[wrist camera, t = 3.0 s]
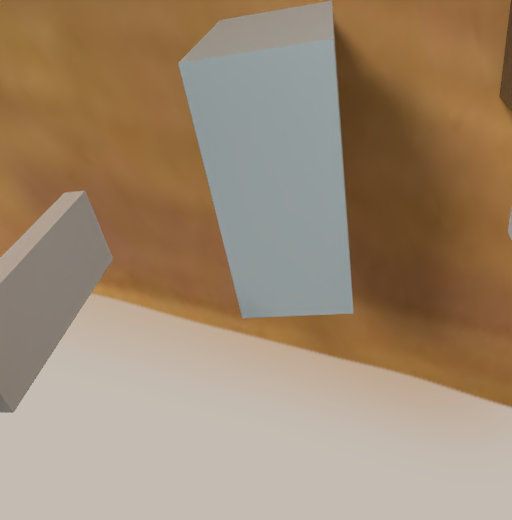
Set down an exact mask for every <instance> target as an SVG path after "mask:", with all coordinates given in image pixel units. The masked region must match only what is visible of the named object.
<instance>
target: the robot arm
mask: <svg viewBox="0 0 512 520" xmlns="http://www.w3.org/2000/svg"><path fill="white" fill-rule="evenodd" d="M508 234H509V236H510V238H511V240H512V207H511V214H510V221H509V227H508ZM112 260H113V257H112V255H111V252H110V250H109V247H108V245H107V242H106V240H105V238H104V235H103V233H102V230H101V228H100V225H99V223H98V221H97V218H96V216H95V213H94V211H93V208H92V206H91V204H90V201H89V199H88V196H87V194H86V191H75V192H65V193H63V194H62V196H61V197H60V198H59V199H58V200H57V201H56V202H55V203H54V204H53V205H52V206H51V207H50V208H49V209H48V210H47V211H46V212H45V213H44V214H43V215H42V216H41V217H40V218H39V219H38V220H37V221H36V222H35V223H34V224H33V225H32V226H31V227H30V228H29V229H28V230H27V231H26V232H25V233H24V234H23V235H22V236H21V237H20V238H19V239H18V240H17V241H16V242H15V243H14V244H13V245H12V246H11V247H10V248H9V250H8V251H7V252H6V253H5V254H4V255H3V256H2V257H1V258H0V412H14V411H15V409H16V408H17V406H18V405H19V403H20V401H21V400H22V398H23V397H24V395H25V394H26V392H27V391H28V389H29V388H30V386H31V385H32V383H33V382H34V380H35V378H36V377H37V375H38V374H39V372H40V371H41V369H42V368H43V366H44V364H45V363H46V361H47V360H48V358H49V357H50V355H51V354H52V352H53V351H54V349H55V348H56V346H57V345H58V343H59V341H60V340H61V338H62V337H63V335H64V334H65V332H66V331H67V329H68V327H69V326H70V325H71V323H72V321H73V320H74V318H75V317H76V315H77V314H78V312H79V311H80V309H81V307H82V306H83V305H84V303H85V301H86V300H87V298H88V297H89V295H90V294H91V292H92V291H93V289H94V288H95V286H96V285H97V283H98V281H99V280H100V278H101V277H102V275H103V274H104V272H105V271H106V269H107V268H108V266H109V265H110V263H111V261H112Z"/></svg>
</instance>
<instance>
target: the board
mask: <svg viewBox="0 0 512 520" xmlns="http://www.w3.org/2000/svg"><path fill="white" fill-rule="evenodd" d="M500 98H501V99H502V100H503V101H504V102H505V103H506V104H507V105H508V107H509V108H510V109H511V110H512V0H511V6H510V15H509V23H508V31H507V40H506V48H505V56H504V65H503V73H502V81H501V90H500Z"/></svg>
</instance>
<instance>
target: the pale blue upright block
mask: <svg viewBox="0 0 512 520" xmlns="http://www.w3.org/2000/svg"><path fill="white" fill-rule="evenodd" d="M178 65H179V69H180V73H181V77H182V81H183V84H184V88H185V92H186V96H187V100H188V104H189V108H190V112H191V116H192V120H193V124H194V128H195V132H196V136H197V140H198V144H199V148H200V152H201V156H202V160H203V164H204V168H205V172H206V176H207V180H208V184H209V188H210V192H211V196H212V200H213V203H214V207H215V211H216V215H217V219H218V223H219V227H220V231H221V235H222V239H223V243H224V247H225V251H226V255H227V259H228V263H229V267H230V271H231V275H232V279H233V283H234V287H235V291H236V295H237V299H238V303H239V307H240V311H241V315H242V318H260V317H283V316H306V315H329V314H352V313H353V296H352V280H351V264H350V248H349V231H348V216H347V202H346V188H345V174H344V160H343V145H342V131H341V117H340V103H339V89H338V75H337V61H336V47H335V32H334V18H333V4H332V1H327V2H321V3H315V4H310V5H304V6H298V7H292V8H286V9H281V10H275V11H269V12H263V13H257V14H252V15H246V16H240V17H234V18H228V19H223V20H220V21H219V22H218V23H217V24H216V25H215V26H214V27H213V28H212V29H211V30H210V31H209V32H208V33H207V34H206V35H205V36H204V37H203V38H202V39H201V40H200V41H199V42H198V43H197V44H196V45H195V46H194V47H193V48H192V49H191V50H190V51H189V52H188V53H187V54H186V55H185V56H184V57H183V58H182V60H181V61H180V62H179V63H178Z"/></svg>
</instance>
